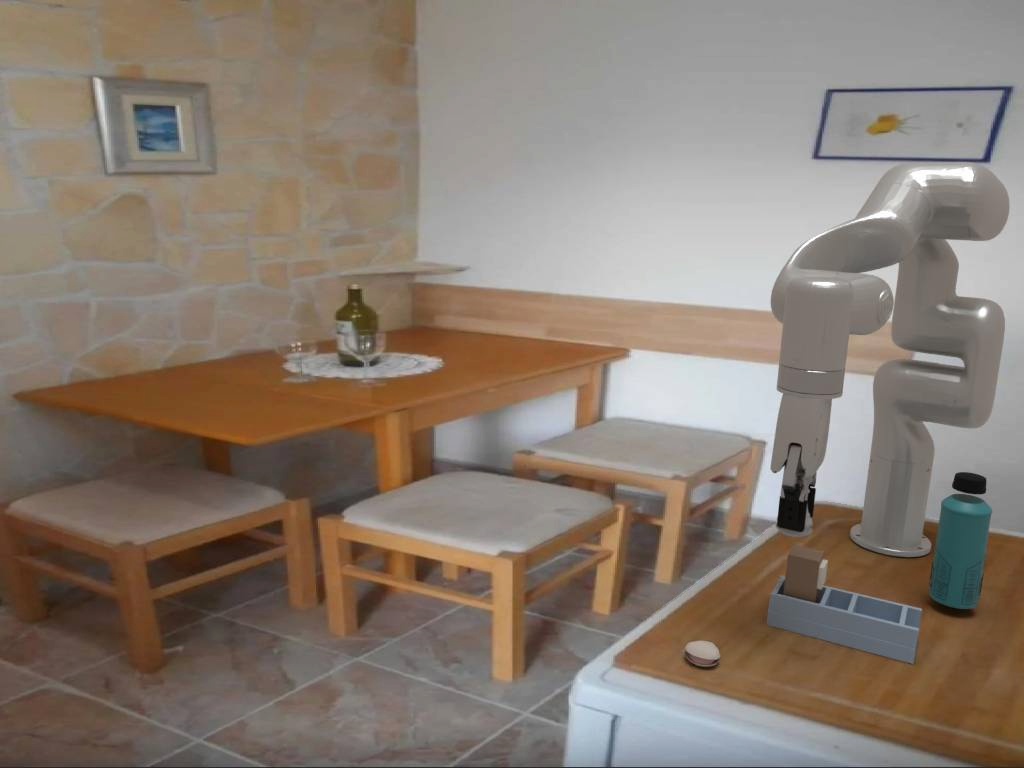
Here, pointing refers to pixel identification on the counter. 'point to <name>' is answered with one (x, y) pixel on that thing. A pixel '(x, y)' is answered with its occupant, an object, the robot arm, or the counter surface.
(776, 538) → the counter surface
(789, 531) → the rook chess piece
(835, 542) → the counter surface
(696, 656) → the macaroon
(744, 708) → the counter surface
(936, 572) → the beverage bottle
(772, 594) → the blue-grey divided tray
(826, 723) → the counter surface
